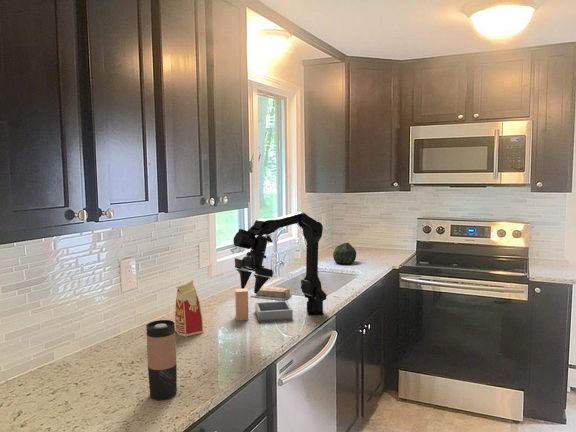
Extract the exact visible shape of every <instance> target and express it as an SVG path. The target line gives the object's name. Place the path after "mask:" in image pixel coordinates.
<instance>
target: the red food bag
mask: <svg viewBox="0 0 576 432" xmlns="http://www.w3.org/2000/svg"><path fill="white" fill-rule="evenodd" d="M176 288H177V291H176V299H175V311H174V312H175V313H174V323H175V333H177V335H178V336H182V337H189V336H194V335H198V334H203V333H204V331H205V330H204V321H203V320H204V319H203V314H202V309H201V308H202V307H201V303H200V300H199V296H198V293H197V290H196V288H195V285H194V280H193V279H191V280H190V281H188V282H186V283H183V284H181V285H178V286H176Z"/></svg>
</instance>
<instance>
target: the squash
mask: <svg viewBox="0 0 576 432" xmlns="http://www.w3.org/2000/svg"><path fill="white" fill-rule="evenodd" d="M332 256H333V260H334V262H335V263H337V264H340V265H341V264H343V265H346V266H347V265H351V264H354V262H356V258H357V251H356V249H355V248H354V247H353V246H352V244H351V243H349V242H344V243H341V244H339V245H337V246H336V247H335V249H334V251H333V254H332Z"/></svg>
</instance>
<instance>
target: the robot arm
mask: <svg viewBox="0 0 576 432" xmlns="http://www.w3.org/2000/svg"><path fill="white" fill-rule="evenodd" d="M296 224H297V225H298V227H300V228H301V229H302V233H303V234H302V235H303V237H304V239H305V242H306V256H305V257H306V258H305V260H306V263H305V264H306V265H305V277H303V278H301V279H300V289H301V293H303V295H304V298H306V299H307V301H306V313H307V315H309V316H310V315H311V316H312V315H314V316H316V315H324V309H323V308H324V301H326V299H327V296H328V295H327V293H325V291H324V290H323V289H322V282H321V280H320V278H319V274H318V271H319V270H318V269H319V242H320V240H321V238H322V236H323V229H324V225H323V224H322V223H321V222H320V221H317V220H316V219H314V218H312V217H311V216H309V215H307V213H305V212H303V211H295V212H294V213H289V214H286V215H282V216H280V217H279V216H278V217H274V218H257V219H256V220H255V221H254V223H253V225H252V226H251V227H250V228H249V229H248V230H246V229H242V228H238V231H237V232H236V233H235V235H234V236H233V242H232V243H233V245H234V246H235V247H237V248H241V249H245V250H246V249H247V250H250V251H247V253H246V255H241V256H237V257H234V268H235V269H236V271H237V272H238V274H239V277H240V289H244V288H245V287H246V286H247V284H248V282H249V279H250V277H251V275H252V273H253V272H254V273H255V274H254V273H253V277H254V278H255V283H254V288H253V294H255V293H257V292H258V291H259V290H260V289H261V287H262V286H265V284H266V282H267V281H268V280H271V278H273V276H274V270H273V269H271V268H267V267H265V265H263V264H264V259H266V258H267V255H266V250H267V244H268V243H273V239H272V237H271V234H273V233H275V232H277V230H278V229H281V228H284V227H288V226H291V225H296Z"/></svg>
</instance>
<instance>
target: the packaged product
mask: <svg viewBox="0 0 576 432" xmlns="http://www.w3.org/2000/svg"><path fill="white" fill-rule="evenodd" d="M292 295H293V294H292V293H291V288H287V287H279V286H278V287H277V286H267V285H263V286H262V287H261V289H260V290H259V291H258V292H257V293H253V294H251V295H250V298H254V299H255V298H258V299H266V300H275V301H287V299H289V298H290V297H292Z"/></svg>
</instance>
